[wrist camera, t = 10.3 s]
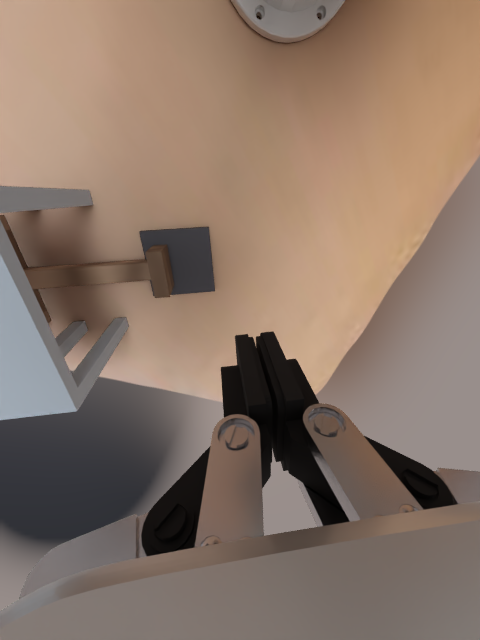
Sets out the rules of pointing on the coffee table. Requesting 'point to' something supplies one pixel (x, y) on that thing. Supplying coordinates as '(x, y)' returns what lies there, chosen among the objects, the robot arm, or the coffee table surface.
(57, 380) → the tunnel
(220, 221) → the coffee table surface
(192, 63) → the coffee table surface
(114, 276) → the sled
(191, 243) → the panel
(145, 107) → the coffee table surface
